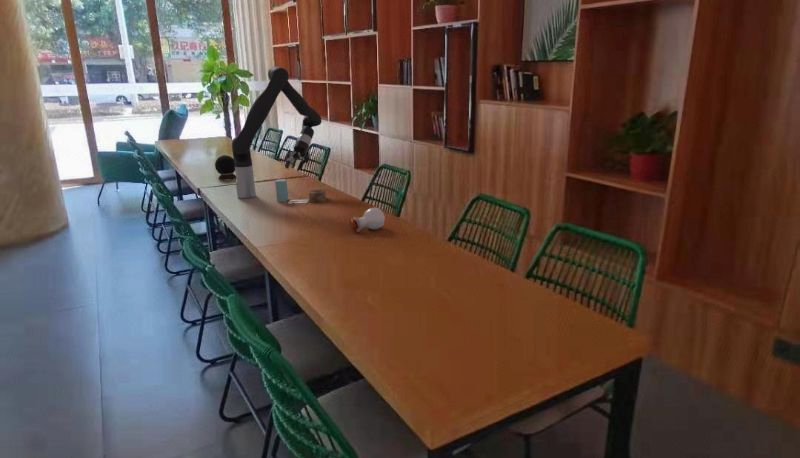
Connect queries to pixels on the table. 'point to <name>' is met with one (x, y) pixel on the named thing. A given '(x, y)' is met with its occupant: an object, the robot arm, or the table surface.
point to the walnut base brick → (317, 195)
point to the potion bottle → (368, 220)
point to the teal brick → (281, 190)
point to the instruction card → (298, 201)
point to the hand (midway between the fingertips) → (292, 168)
